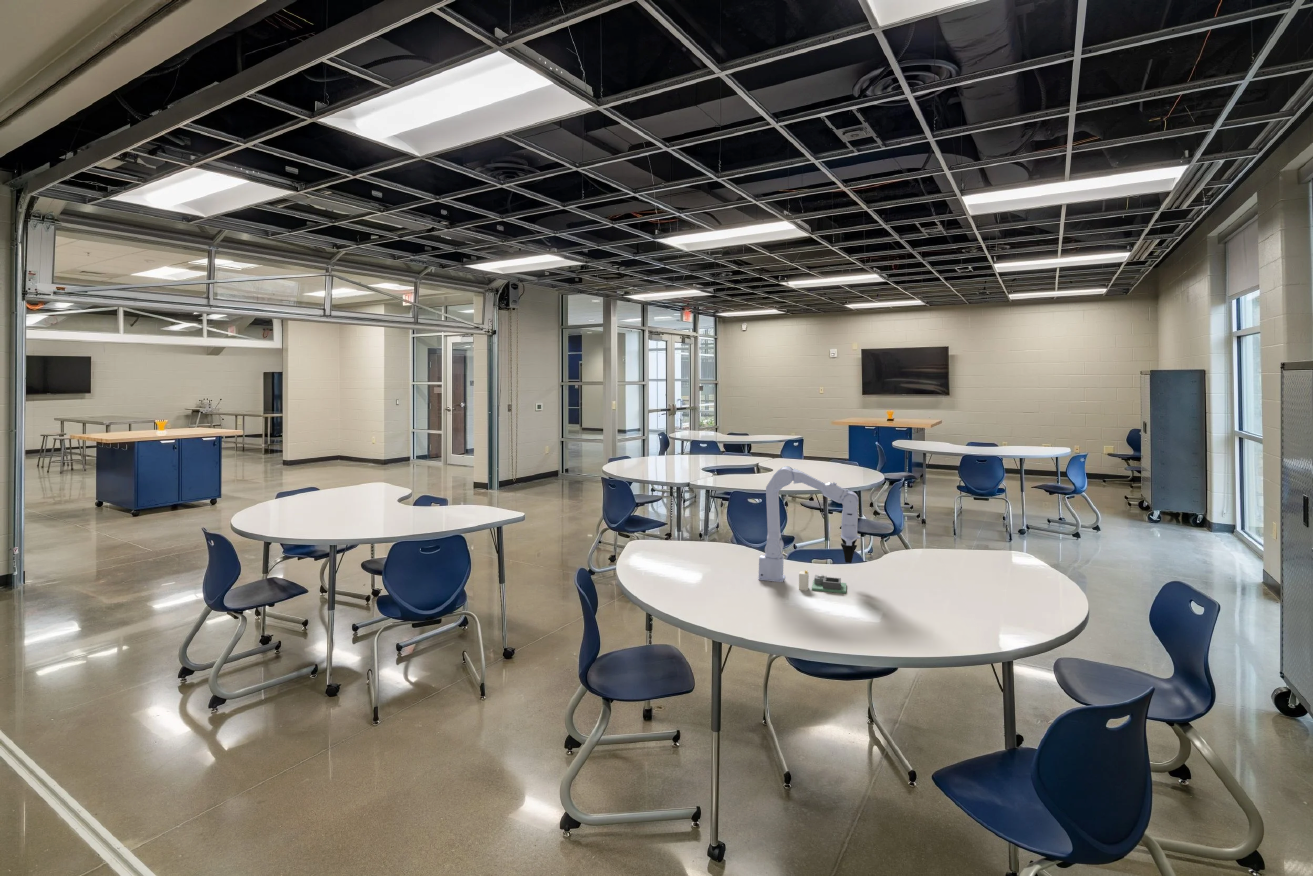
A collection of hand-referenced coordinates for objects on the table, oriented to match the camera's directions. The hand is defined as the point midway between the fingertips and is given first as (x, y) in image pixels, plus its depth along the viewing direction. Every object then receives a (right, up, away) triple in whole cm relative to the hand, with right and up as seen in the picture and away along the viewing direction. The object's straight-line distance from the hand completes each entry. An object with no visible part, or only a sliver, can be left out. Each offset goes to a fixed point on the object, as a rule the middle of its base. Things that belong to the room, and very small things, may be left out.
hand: (848, 559), depth 231 cm
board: (-8, -10, -2) cm, 13 cm away
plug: (-17, -10, -3) cm, 20 cm away
